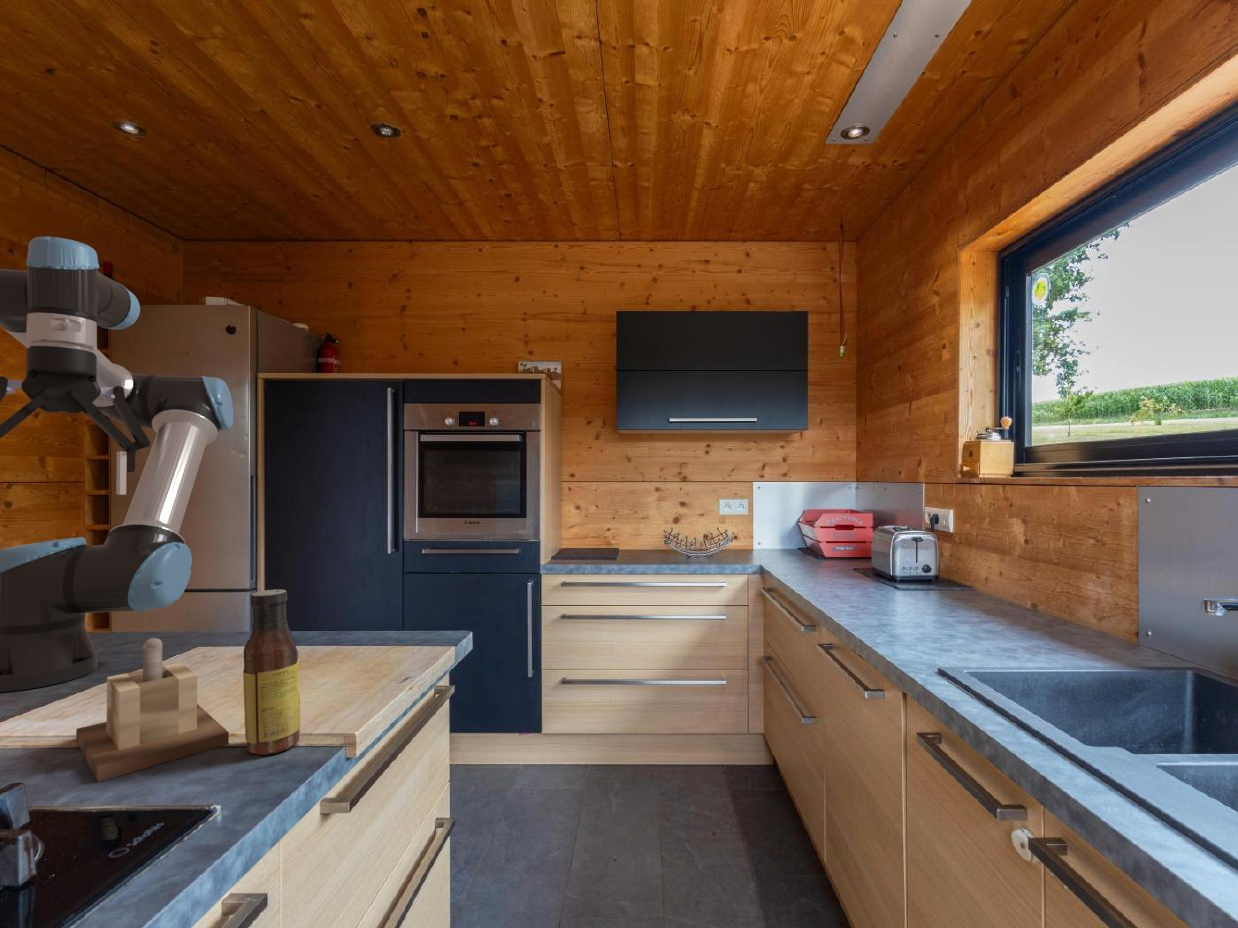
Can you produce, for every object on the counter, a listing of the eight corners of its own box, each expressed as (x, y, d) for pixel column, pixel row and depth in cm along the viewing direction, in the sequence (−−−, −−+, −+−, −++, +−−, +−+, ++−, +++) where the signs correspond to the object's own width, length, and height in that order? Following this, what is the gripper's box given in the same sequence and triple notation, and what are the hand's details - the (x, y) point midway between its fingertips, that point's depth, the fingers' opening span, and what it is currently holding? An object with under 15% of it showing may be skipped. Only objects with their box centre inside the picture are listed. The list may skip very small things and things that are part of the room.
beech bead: (106, 730, 79) (107, 677, 79) (180, 712, 85) (180, 662, 85) (118, 749, 74) (119, 692, 74) (196, 728, 80) (197, 675, 80)
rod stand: (76, 740, 80) (77, 637, 80) (193, 710, 90) (194, 619, 90) (97, 781, 69) (99, 662, 69) (228, 743, 79) (229, 639, 79)
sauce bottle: (310, 736, 81) (311, 587, 81) (280, 758, 75) (281, 597, 75) (264, 734, 82) (265, 586, 82) (230, 756, 75) (231, 596, 76)
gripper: (-68, 330, 76) (-70, 499, 76) (173, 357, 95) (172, 493, 95) (-68, 338, 81) (-70, 497, 81) (161, 363, 100) (160, 492, 100)
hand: (61, 496), depth 88 cm, fingers open, 13 cm apart
